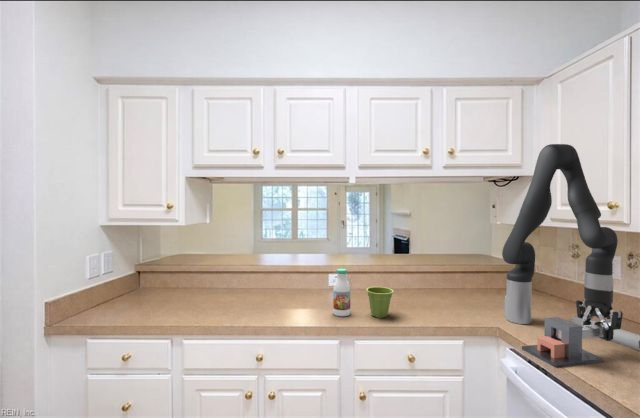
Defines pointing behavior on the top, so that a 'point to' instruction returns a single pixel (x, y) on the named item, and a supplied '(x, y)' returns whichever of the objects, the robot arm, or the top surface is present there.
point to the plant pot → (379, 300)
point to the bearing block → (572, 344)
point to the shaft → (589, 331)
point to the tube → (617, 335)
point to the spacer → (551, 346)
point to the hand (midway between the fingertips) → (597, 336)
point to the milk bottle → (341, 294)
